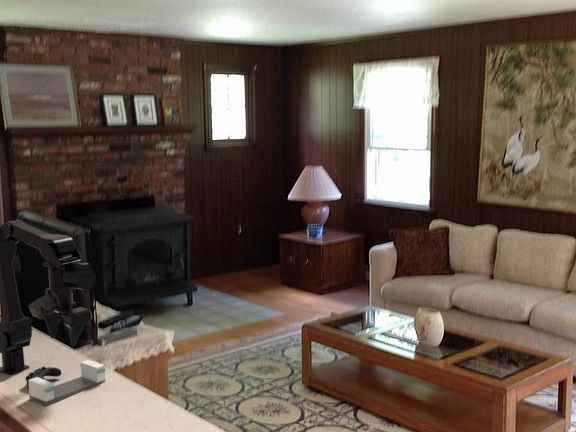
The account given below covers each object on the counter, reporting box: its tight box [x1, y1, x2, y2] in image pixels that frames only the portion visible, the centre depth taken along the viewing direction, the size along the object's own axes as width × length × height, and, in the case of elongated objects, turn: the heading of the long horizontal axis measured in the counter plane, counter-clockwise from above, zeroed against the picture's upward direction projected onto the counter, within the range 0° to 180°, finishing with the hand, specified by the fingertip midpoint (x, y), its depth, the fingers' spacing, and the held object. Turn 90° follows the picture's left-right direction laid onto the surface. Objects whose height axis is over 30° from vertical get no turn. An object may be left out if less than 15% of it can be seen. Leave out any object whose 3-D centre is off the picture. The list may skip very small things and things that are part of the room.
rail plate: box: [28, 376, 106, 406], centre depth 181 cm, size 7×18×1 cm, turn 142°
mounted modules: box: [28, 359, 106, 402], centre depth 180 cm, size 7×18×4 cm, turn 142°
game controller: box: [24, 365, 62, 386], centre depth 186 cm, size 10×5×6 cm
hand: (63, 341), depth 186 cm, fingers open, 9 cm apart
